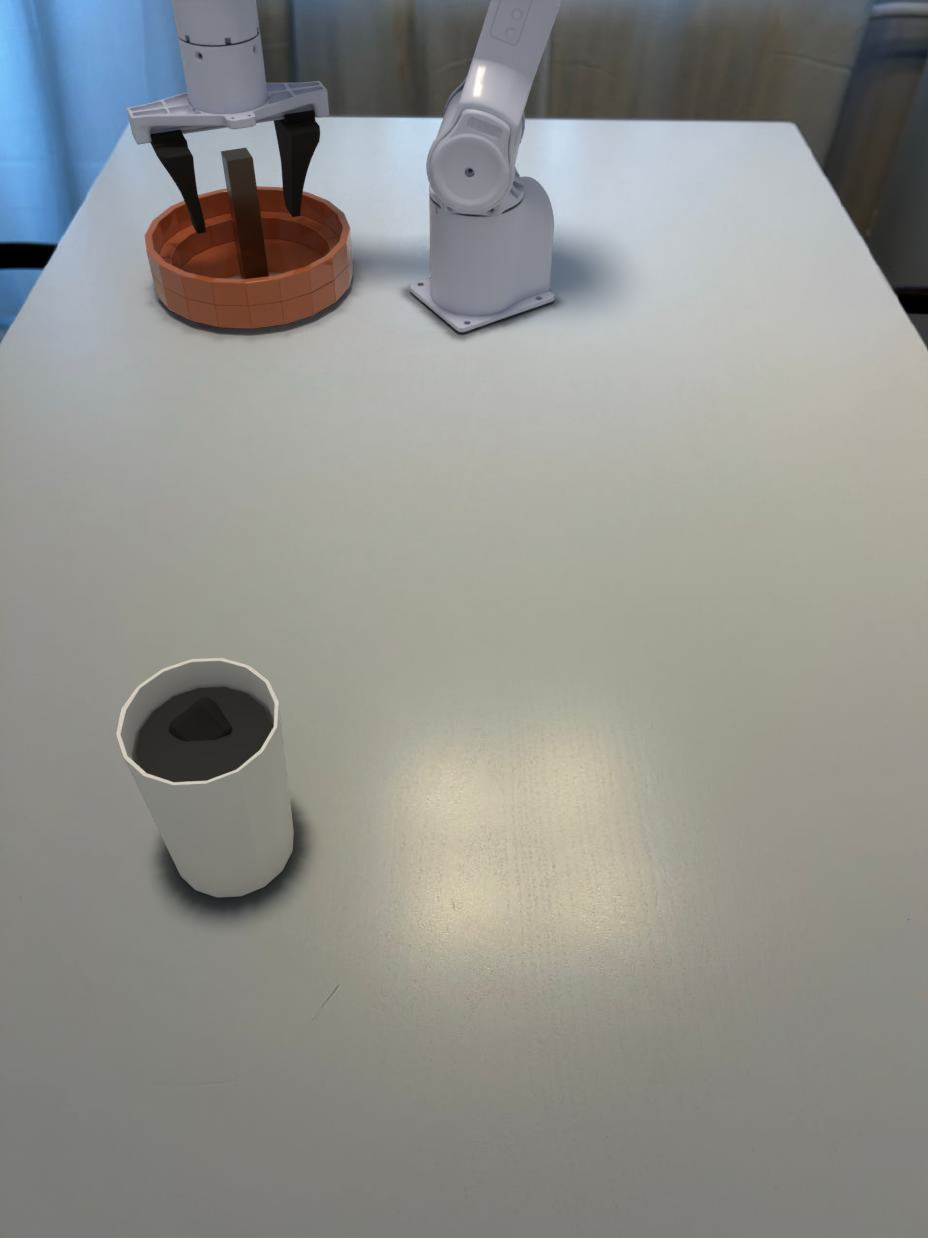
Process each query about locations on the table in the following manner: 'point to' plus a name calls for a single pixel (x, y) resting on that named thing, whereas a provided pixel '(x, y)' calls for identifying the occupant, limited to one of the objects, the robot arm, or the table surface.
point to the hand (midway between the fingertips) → (246, 219)
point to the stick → (245, 212)
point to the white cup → (212, 772)
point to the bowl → (209, 270)
